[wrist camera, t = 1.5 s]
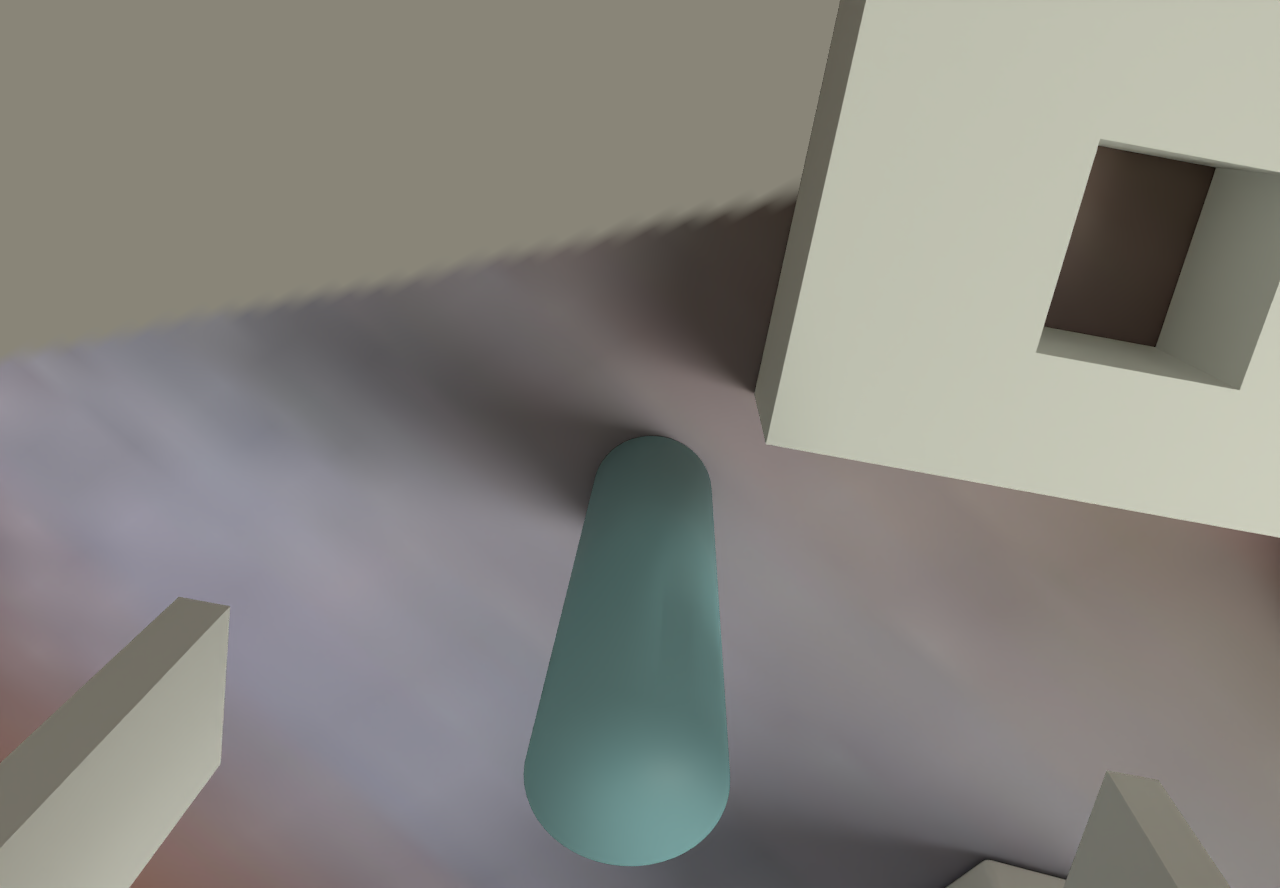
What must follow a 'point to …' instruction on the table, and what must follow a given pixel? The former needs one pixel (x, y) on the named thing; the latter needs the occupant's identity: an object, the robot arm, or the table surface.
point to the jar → (1005, 877)
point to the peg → (636, 669)
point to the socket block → (1034, 254)
